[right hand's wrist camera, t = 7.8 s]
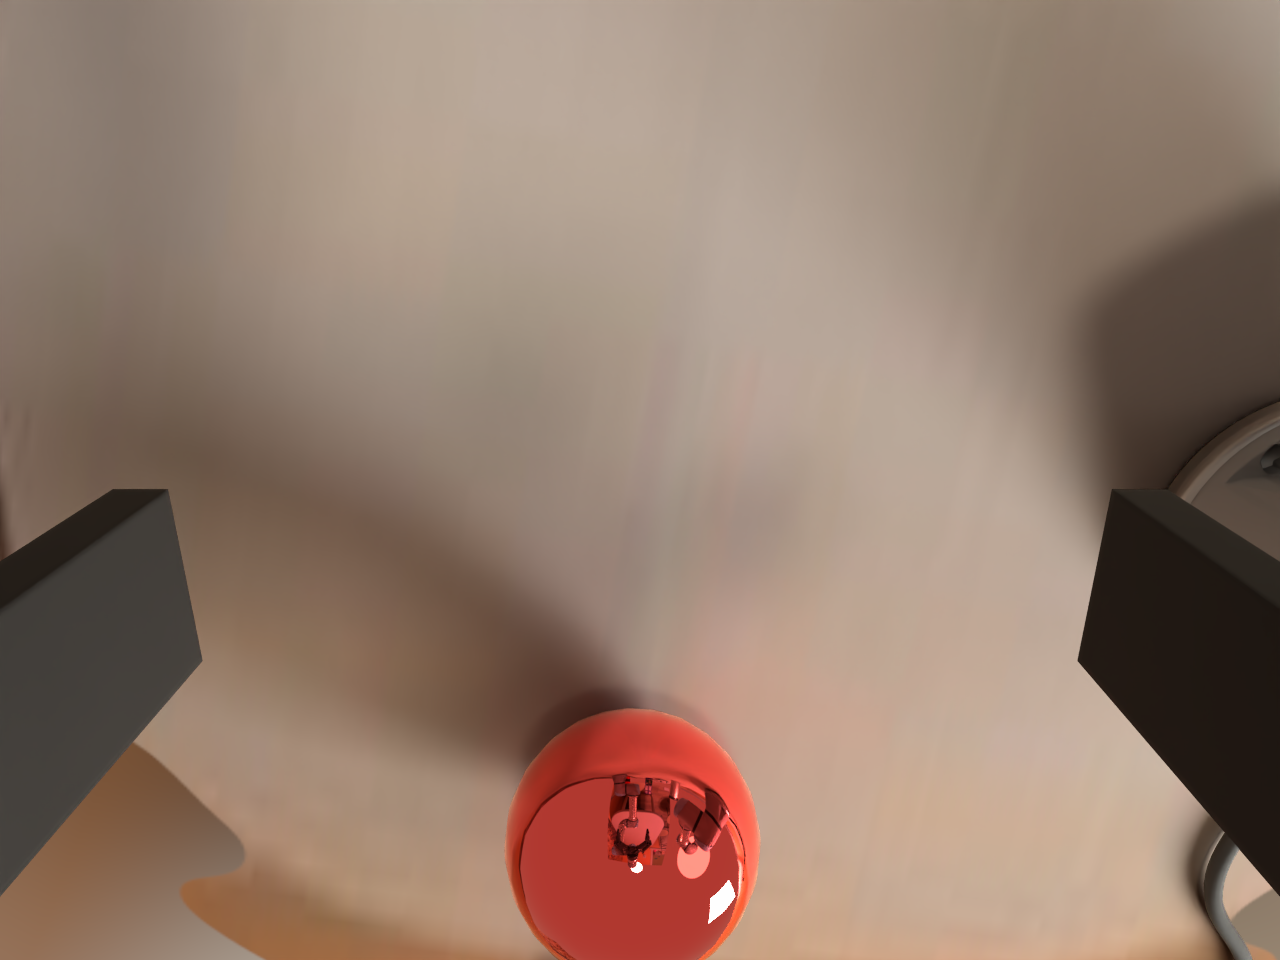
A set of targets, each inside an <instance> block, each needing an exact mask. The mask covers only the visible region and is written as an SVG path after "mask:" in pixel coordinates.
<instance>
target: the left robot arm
mask: <svg viewBox="0 0 1280 960" xmlns="http://www.w3.org/2000/svg"><path fill="white" fill-rule="evenodd" d="M1168 490H1169V491H1171V492H1172V493H1174V494H1175V495H1177V496H1178V497H1180V498H1181V499H1183V500H1185V501H1186V502H1188V503H1189V504H1191V505H1192V506H1194V507H1195V508H1197V509H1199V510H1200V511H1202V512H1203V513H1205V514H1206V515H1208V516H1210V517H1211V518H1213V519H1214V520H1216V521H1217V522H1219V523H1220V524H1222V525H1224V526H1225V527H1227V528H1228V529H1230V530H1231V531H1233V532H1234V533H1236V534H1238V535H1239V536H1241V537H1242V538H1244V539H1245V540H1247V541H1249V542H1250V543H1252V544H1253V545H1255V546H1256V547H1258V548H1259V549H1261V550H1263V551H1264V552H1266V553H1267V554H1269V555H1270V556H1272V557H1273V558H1275V559H1277V560H1278V561H1280V401H1279V402H1277V403H1274V404H1272V405H1269V406H1267V407H1264V408H1262V409H1260V410H1258V411H1256V412H1254V413H1252V414H1250V415H1248V416H1246V417H1244V418H1243V419H1241V420H1240V421H1238V422H1236V423H1235V424H1233V425H1231V426H1230V427H1228V428H1227V429H1226V430H1224V431H1223V432H1221V433H1220V434H1219V435H1217V436H1216V437H1215V438H1214V439H1212V440H1211V441H1210V442H1209V443H1208V444H1206V445H1205V446H1204V447H1203V448H1202V449H1201V450H1200V451H1199V452H1198V453H1197V454H1196V455H1195V456H1194V457H1193V458H1192V459H1191V460H1190V461H1189V462H1188V463H1187V464H1186V466H1185V467H1184V468H1183V469H1182V470H1181V471H1180V472H1179V474H1178V475H1177V477H1176V478H1175V479H1174V481H1173V482H1172V483H1171V485H1170V486H1169V488H1168ZM1238 851H1239V848H1238V847H1237V846H1236V845H1235V844H1234V842H1233V841H1232V840H1231V839H1230V838H1229V837H1228V835H1227V834H1226V833H1224V835H1223V836H1222V838H1221V839H1220V841H1219V843H1218V844H1217V846H1216V848H1215V850H1214V852H1213V854H1212V856H1211V858H1210V861H1209V863H1208V867H1207V870H1206V874H1205V880H1204V901H1205V907H1206V910H1207V913H1208V916H1209V918H1210V920H1211V922H1212V924H1213V925H1214V927H1215V929H1216V930H1217V932H1218V933H1219V935H1220V936H1221V937H1222V939H1223V940H1224V942H1225V943H1226V945H1227V946H1228V948H1229V950H1230V952H1231V953H1232V956H1233V958H1234V960H1252V957H1251V954H1250V952H1249V949H1248V948H1247V946H1246V944H1245V942H1244V941H1243V939H1242V938H1241V936H1240V935H1239V933H1238V932H1237V930H1236V929H1235V927H1234V926H1233V924H1232V923H1231V921H1230V919H1229V917H1228V915H1227V913H1226V911H1225V908H1224V905H1223V887H1224V882H1225V878H1226V875H1227V872H1228V870H1229V867H1230V865H1231V863H1232V861H1233V859H1234V857H1235V856H1236V854H1237V852H1238Z"/></svg>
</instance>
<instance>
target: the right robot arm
mask: <svg viewBox="0 0 1280 960" xmlns="http://www.w3.org/2000/svg"><path fill="white" fill-rule="evenodd" d="M201 662H202V656H201V651H200V646H199V641H198V636H197V631H196V626H195V621H194V616H193V611H192V606H191V601H190V596H189V591H188V586H187V581H186V576H185V571H184V566H183V562H182V557H181V552H180V547H179V542H178V537H177V532H176V527H175V522H174V517H173V512H172V507H171V502H170V497H169V492H168V489H113V490H111V491H109V492H108V493H106V494H105V495H103V496H102V497H100V498H99V499H97V500H95V501H94V502H92V503H91V504H89V505H88V506H86V507H85V508H83V509H81V510H80V511H78V512H77V513H75V514H74V515H72V516H70V517H69V518H67V519H66V520H64V521H63V522H61V523H60V524H58V525H56V526H55V527H53V528H52V529H50V530H49V531H47V532H46V533H44V534H42V535H41V536H39V537H38V538H36V539H35V540H33V541H31V542H30V543H28V544H27V545H25V546H24V547H22V548H21V549H19V550H17V551H16V552H14V553H13V554H11V555H10V556H8V557H7V558H5V559H3V560H2V561H0V896H1V895H2V894H3V893H4V891H5V890H6V889H7V888H8V887H9V886H10V884H11V883H12V882H13V881H14V880H15V879H16V877H17V876H18V875H19V874H20V873H21V872H22V870H23V869H24V868H25V867H26V866H27V865H28V863H29V862H30V861H31V860H32V859H33V858H34V856H35V855H36V854H37V853H38V852H39V851H40V849H41V848H42V847H43V846H44V845H45V844H46V842H47V841H48V840H49V839H50V838H51V837H52V835H53V834H54V833H55V832H56V831H57V830H58V828H59V827H60V826H61V825H62V824H63V823H64V822H65V820H66V819H67V818H68V817H69V816H70V814H71V813H72V812H73V811H74V810H75V809H76V808H77V806H78V805H79V804H80V803H81V802H82V800H83V799H84V798H85V797H86V796H87V795H88V794H89V792H90V791H91V790H92V789H93V788H94V787H95V785H96V784H97V783H98V782H99V781H100V780H101V778H102V777H103V776H104V775H105V774H106V772H107V771H108V770H109V769H110V768H111V767H112V766H113V764H114V763H115V762H116V761H117V760H118V759H119V757H120V756H121V755H122V754H123V753H124V752H125V750H126V749H127V748H128V747H129V746H130V745H131V743H132V742H133V741H134V740H135V739H136V738H137V737H138V735H139V734H140V733H141V732H142V731H143V730H144V728H145V727H146V726H147V725H148V724H149V723H150V721H151V720H152V719H153V718H154V717H155V716H156V714H157V713H158V712H159V711H160V710H161V709H162V707H163V706H164V705H165V704H166V703H167V702H168V700H169V699H170V698H171V697H172V696H173V695H174V693H175V692H176V691H177V690H178V689H179V688H180V686H181V685H182V684H183V683H184V682H185V681H186V679H187V678H188V677H189V676H190V675H191V674H192V672H193V671H194V670H195V669H196V668H197V667H198V665H199V664H200V663H201ZM1078 662H1079V663H1080V664H1081V665H1082V667H1083V668H1084V669H1085V670H1086V671H1087V672H1088V674H1089V675H1090V676H1091V677H1092V678H1093V679H1094V681H1095V682H1096V683H1097V684H1098V685H1099V686H1100V688H1101V689H1102V690H1103V691H1104V692H1105V693H1106V695H1107V696H1108V697H1109V698H1110V699H1111V700H1112V702H1113V703H1114V704H1115V705H1116V706H1117V707H1118V709H1119V710H1120V711H1121V712H1122V713H1123V714H1124V716H1125V717H1126V718H1127V719H1128V720H1129V721H1130V723H1131V724H1132V725H1133V726H1134V727H1135V728H1136V730H1137V731H1138V732H1139V733H1140V734H1141V735H1142V737H1143V738H1144V739H1145V740H1146V741H1147V742H1148V743H1149V745H1150V746H1151V747H1152V748H1153V749H1154V750H1155V752H1156V753H1157V754H1158V755H1159V756H1160V757H1161V759H1162V760H1163V761H1164V762H1165V763H1166V764H1167V766H1168V767H1169V768H1170V769H1171V770H1172V771H1173V773H1174V774H1175V775H1176V776H1177V777H1178V778H1179V780H1180V781H1181V782H1182V783H1183V784H1184V785H1185V787H1186V788H1187V789H1188V790H1189V791H1190V792H1191V794H1192V795H1193V796H1194V797H1195V798H1196V799H1197V801H1198V802H1199V803H1200V804H1201V805H1202V806H1203V808H1204V809H1205V810H1206V811H1207V812H1208V813H1209V815H1210V816H1211V817H1212V818H1213V819H1214V820H1215V822H1216V823H1217V824H1218V825H1219V826H1220V827H1221V828H1222V830H1223V831H1224V832H1225V833H1226V834H1227V835H1228V837H1229V838H1230V839H1231V840H1232V841H1233V842H1234V844H1235V845H1236V846H1237V847H1238V848H1239V849H1240V851H1241V852H1242V853H1243V854H1244V855H1245V856H1246V858H1247V859H1248V860H1249V861H1250V862H1251V863H1252V865H1253V866H1254V867H1255V868H1256V869H1257V870H1258V872H1259V873H1260V874H1261V875H1262V876H1263V877H1264V879H1265V880H1266V881H1267V882H1268V883H1269V884H1270V886H1271V887H1272V888H1273V889H1274V890H1275V891H1276V893H1277V894H1278V895H1279V896H1280V561H1278V560H1277V559H1275V558H1273V557H1272V556H1270V555H1269V554H1267V553H1266V552H1264V551H1263V550H1261V549H1259V548H1258V547H1256V546H1255V545H1253V544H1252V543H1250V542H1249V541H1247V540H1245V539H1244V538H1242V537H1241V536H1239V535H1238V534H1236V533H1234V532H1233V531H1231V530H1230V529H1228V528H1227V527H1225V526H1224V525H1222V524H1220V523H1219V522H1217V521H1216V520H1214V519H1213V518H1211V517H1210V516H1208V515H1206V514H1205V513H1203V512H1202V511H1200V510H1199V509H1197V508H1195V507H1194V506H1192V505H1191V504H1189V503H1188V502H1186V501H1185V500H1183V499H1181V498H1180V497H1178V496H1177V495H1175V494H1174V493H1172V492H1171V491H1169V490H1167V489H1112V492H1111V497H1110V502H1109V507H1108V512H1107V517H1106V522H1105V527H1104V532H1103V537H1102V542H1101V547H1100V552H1099V557H1098V562H1097V566H1096V571H1095V576H1094V581H1093V586H1092V591H1091V596H1090V601H1089V606H1088V611H1087V616H1086V621H1085V626H1084V631H1083V636H1082V641H1081V646H1080V651H1079V656H1078Z"/></svg>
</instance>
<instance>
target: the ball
mask: <svg viewBox="0 0 1280 960" xmlns="http://www.w3.org/2000/svg"><path fill="white" fill-rule="evenodd" d="M504 852H505V862H506V867H507V872H508V877H509V883H510V888H511V892H512V895H513V898H514V901H515V903H516V905H517V907H518V909H519V911H520V912H521V914H522V916H523V918H524V920H525V922H526V924H527V925H528V927H529V929H530V930H531V932H532V933H533V935H534V936H535V937H536V938H537V939H538V940H539V941H540V942H541V943H542V944H543V945H544V947H545V948H546V949H547V950H548V951H549V952H550V953H551V954H552V955H553V956H554V957H556V958H557V959H558V960H705V959H706V958H708V957H709V956H711V955H712V954H713V953H714V952H716V951H717V950H718V949H719V947H720V946H721V945H722V944H723V943H724V942H725V940H726V939H727V938H728V937H729V935H730V934H731V933H732V932H733V931H734V929H735V928H736V927H737V925H738V924H739V922H740V921H741V919H742V916H743V914H744V912H745V910H746V907H747V905H748V903H749V900H750V898H751V896H752V893H753V891H754V888H755V885H756V881H757V875H758V865H759V854H760V829H759V825H758V820H757V816H756V811H755V807H754V802H753V798H752V795H751V792H750V790H749V788H748V786H747V784H746V782H745V780H744V778H743V777H742V775H741V773H740V772H739V770H738V768H737V766H736V765H735V763H734V761H733V760H732V758H731V757H730V756H729V754H728V753H727V752H726V751H725V750H724V749H723V748H722V747H721V746H720V745H718V744H717V743H716V742H715V741H714V740H713V739H712V738H711V737H710V736H709V735H708V734H707V733H706V732H704V731H703V730H701V729H699V728H697V727H696V726H694V725H692V724H690V723H689V722H687V721H685V720H683V719H682V718H680V717H677V716H674V715H670V714H667V713H664V712H660V711H657V710H649V709H636V708H625V709H618V710H611V711H604V712H601V713H598V714H596V715H593V716H590V717H587V718H585V719H582V720H580V721H578V722H576V723H574V724H573V725H571V726H570V727H568V728H567V729H565V730H564V731H562V732H561V733H559V734H558V735H556V736H555V737H554V738H553V739H551V740H550V741H549V743H548V744H547V745H546V746H545V747H544V748H543V749H542V751H541V752H540V753H539V754H538V755H537V756H536V757H535V758H534V760H533V761H532V762H531V763H530V764H529V766H528V767H527V769H526V771H525V773H524V775H523V777H522V779H521V781H520V784H519V786H518V788H517V790H516V792H515V794H514V797H513V799H512V802H511V804H510V808H509V813H508V821H507V829H506V837H505V847H504Z"/></svg>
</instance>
